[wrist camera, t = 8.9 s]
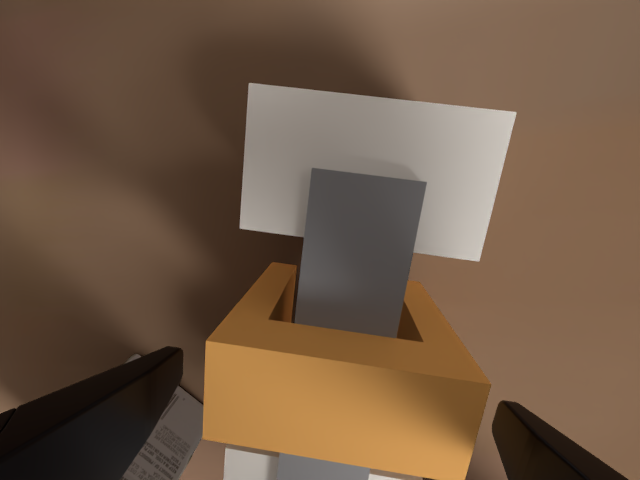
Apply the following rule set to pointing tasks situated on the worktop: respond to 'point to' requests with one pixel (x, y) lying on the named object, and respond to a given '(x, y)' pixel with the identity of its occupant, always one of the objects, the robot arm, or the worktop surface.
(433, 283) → the worktop surface
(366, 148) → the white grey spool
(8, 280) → the worktop surface
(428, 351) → the orange u-channel
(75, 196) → the worktop surface
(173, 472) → the coffee box
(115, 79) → the worktop surface
